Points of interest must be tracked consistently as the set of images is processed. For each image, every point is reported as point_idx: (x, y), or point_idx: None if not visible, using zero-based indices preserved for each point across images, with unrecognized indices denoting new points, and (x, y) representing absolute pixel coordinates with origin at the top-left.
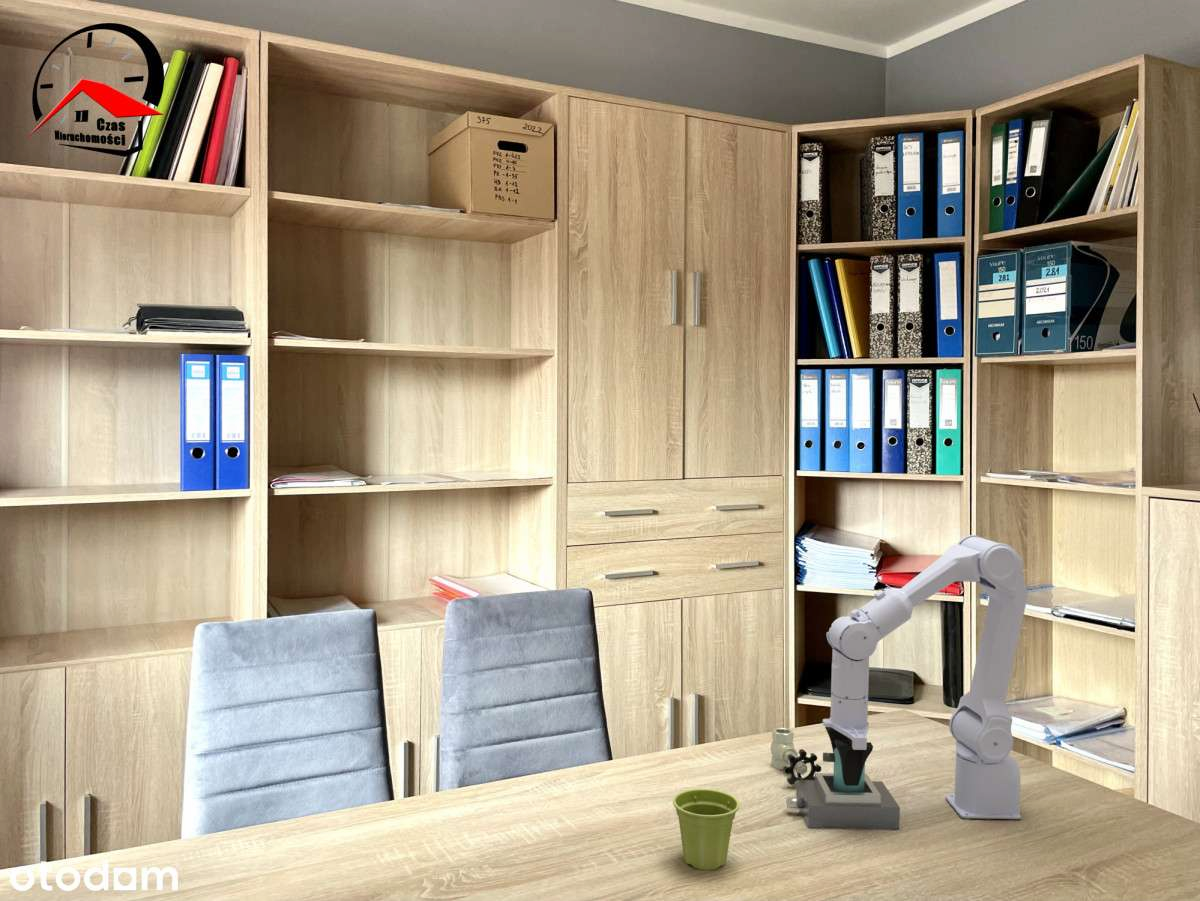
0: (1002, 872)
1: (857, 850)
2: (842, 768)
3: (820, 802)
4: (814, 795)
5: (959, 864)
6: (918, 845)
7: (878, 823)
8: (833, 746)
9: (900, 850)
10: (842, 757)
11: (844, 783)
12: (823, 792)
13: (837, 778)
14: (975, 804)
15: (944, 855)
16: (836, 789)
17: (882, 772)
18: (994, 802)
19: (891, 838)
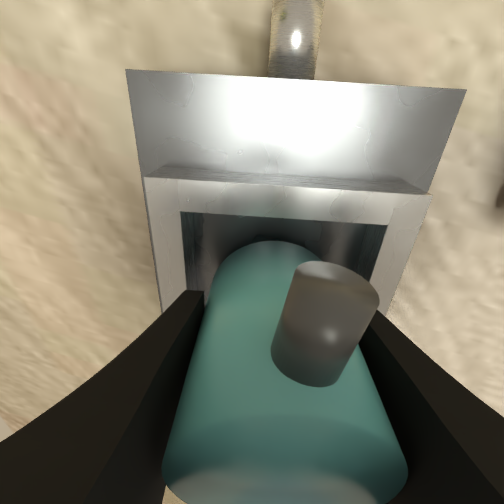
0: (48, 407)
1: (43, 204)
2: (148, 344)
3: (174, 146)
4: (253, 138)
5: (54, 369)
6: (116, 337)
7: None
8: (443, 426)
9: (79, 300)
10: (4, 444)
11: (195, 291)
12: (204, 177)
13: (240, 278)
14: None
15: (83, 361)
16: (247, 247)
17: (500, 386)
18: None
19: (138, 301)
